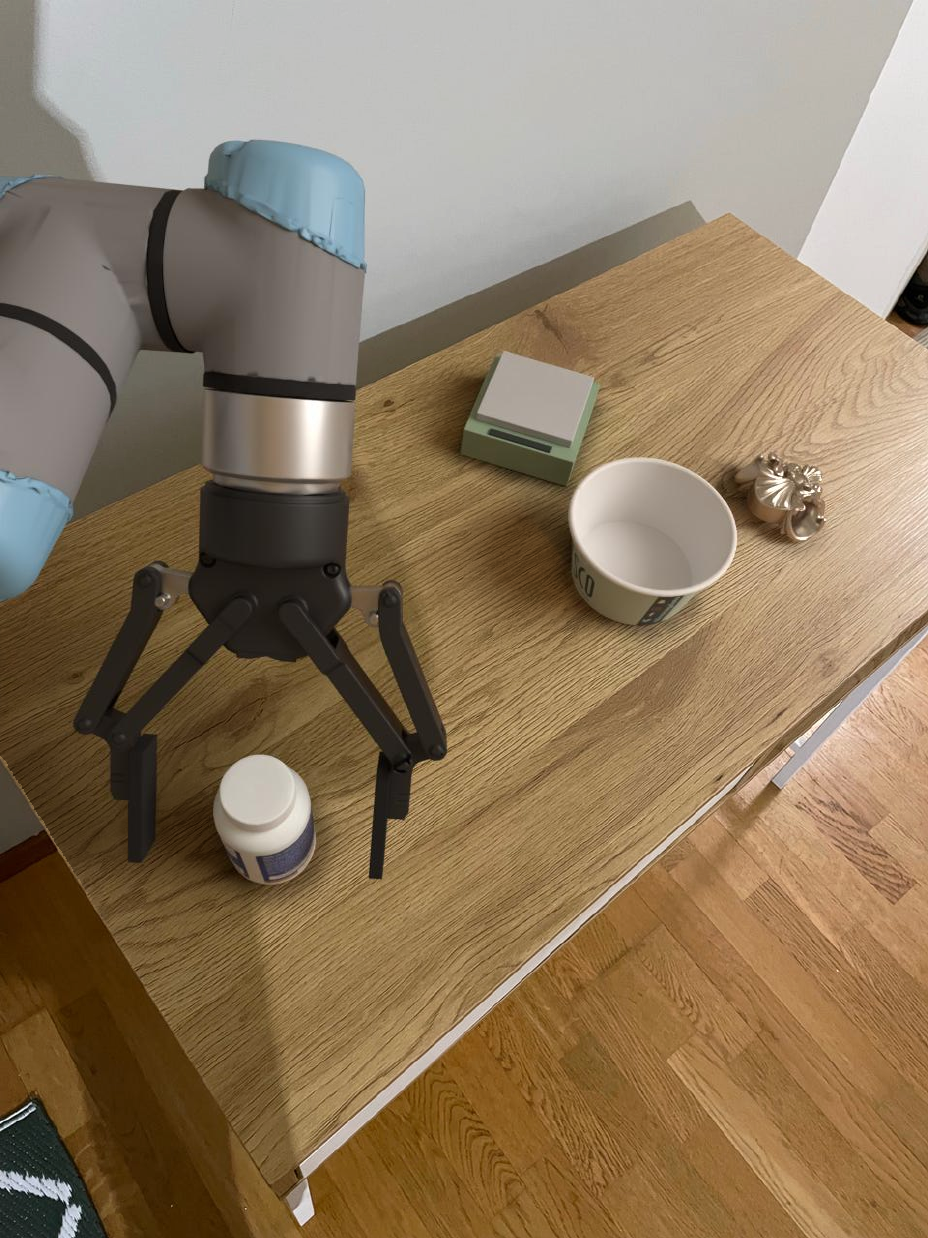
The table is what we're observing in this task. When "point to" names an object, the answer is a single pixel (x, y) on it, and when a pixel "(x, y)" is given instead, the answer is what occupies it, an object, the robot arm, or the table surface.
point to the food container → (647, 538)
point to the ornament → (784, 495)
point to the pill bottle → (265, 819)
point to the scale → (530, 417)
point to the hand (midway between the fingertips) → (260, 859)
